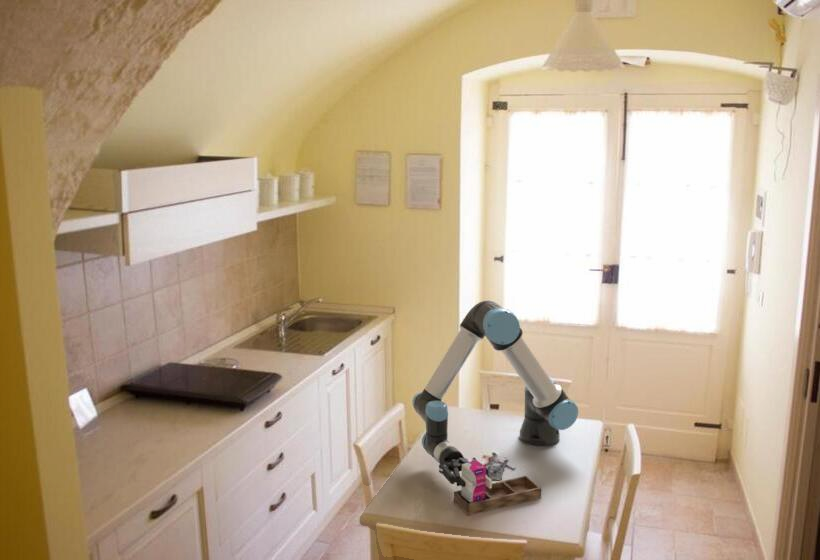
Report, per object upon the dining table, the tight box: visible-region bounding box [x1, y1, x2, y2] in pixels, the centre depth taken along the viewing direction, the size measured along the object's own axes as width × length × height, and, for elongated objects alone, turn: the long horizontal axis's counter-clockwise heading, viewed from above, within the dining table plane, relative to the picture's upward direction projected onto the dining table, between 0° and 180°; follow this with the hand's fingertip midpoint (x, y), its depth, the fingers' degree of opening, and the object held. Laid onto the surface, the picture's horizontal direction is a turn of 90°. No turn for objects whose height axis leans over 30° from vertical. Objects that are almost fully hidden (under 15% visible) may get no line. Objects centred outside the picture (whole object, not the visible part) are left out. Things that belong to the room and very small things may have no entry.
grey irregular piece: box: [487, 451, 508, 481], centre depth 272 cm, size 21×7×2 cm, turn 164°
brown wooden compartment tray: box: [453, 475, 542, 516], centre depth 249 cm, size 27×10×4 cm, turn 113°
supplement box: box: [460, 460, 486, 503], centre depth 244 cm, size 6×6×12 cm
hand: (481, 486), depth 240 cm, fingers closed on supplement box, 6 cm apart
